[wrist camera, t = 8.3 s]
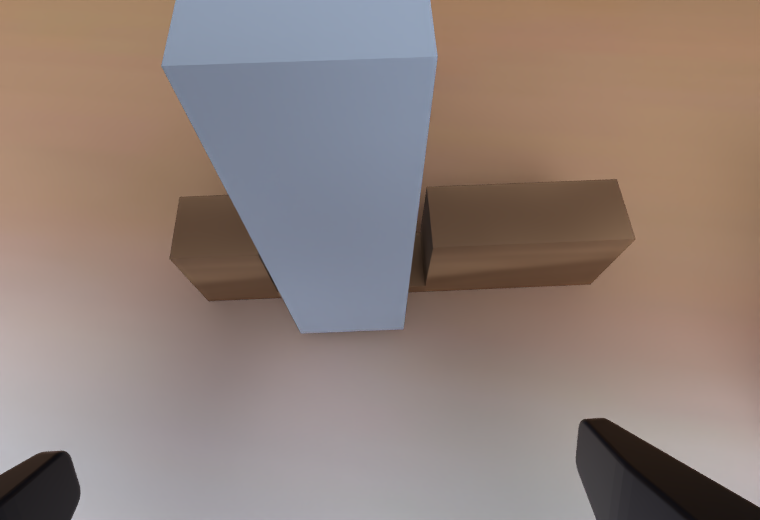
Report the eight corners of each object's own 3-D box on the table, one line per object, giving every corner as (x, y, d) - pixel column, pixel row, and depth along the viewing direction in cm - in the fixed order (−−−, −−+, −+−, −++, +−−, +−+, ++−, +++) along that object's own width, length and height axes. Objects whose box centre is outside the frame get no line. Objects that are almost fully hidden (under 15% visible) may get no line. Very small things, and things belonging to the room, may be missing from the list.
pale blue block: (403, 329, 19) (437, 55, 7) (300, 333, 19) (161, 66, 7) (395, 199, 21) (409, -158, 10) (305, 203, 21) (209, -152, 10)
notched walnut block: (590, 284, 20) (635, 238, 16) (208, 300, 20) (169, 258, 16) (576, 232, 21) (616, 179, 18) (214, 247, 21) (179, 196, 17)
